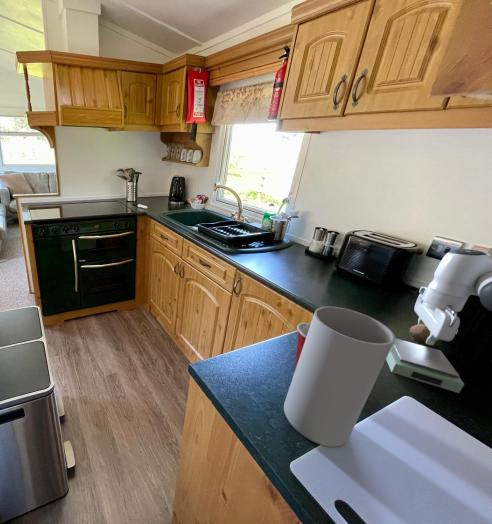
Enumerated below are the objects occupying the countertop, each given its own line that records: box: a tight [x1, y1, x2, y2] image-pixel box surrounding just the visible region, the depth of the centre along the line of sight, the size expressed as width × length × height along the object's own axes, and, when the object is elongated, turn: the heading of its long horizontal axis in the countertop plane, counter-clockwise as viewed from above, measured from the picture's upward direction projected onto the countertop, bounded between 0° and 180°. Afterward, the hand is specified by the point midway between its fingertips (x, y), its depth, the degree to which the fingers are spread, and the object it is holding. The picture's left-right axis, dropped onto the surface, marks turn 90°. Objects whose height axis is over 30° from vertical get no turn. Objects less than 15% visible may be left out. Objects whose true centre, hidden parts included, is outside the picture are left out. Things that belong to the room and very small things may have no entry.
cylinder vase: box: [283, 306, 396, 447], centre depth 58 cm, size 12×12×25 cm
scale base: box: [385, 346, 465, 394], centre depth 82 cm, size 14×14×4 cm
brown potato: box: [408, 324, 442, 348], centre depth 94 cm, size 8×8×6 cm
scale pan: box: [392, 337, 460, 378], centre depth 81 cm, size 12×12×1 cm
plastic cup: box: [295, 322, 311, 368], centre depth 76 cm, size 11×11×12 cm
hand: (423, 337), depth 94 cm, fingers closed on brown potato, 6 cm apart
